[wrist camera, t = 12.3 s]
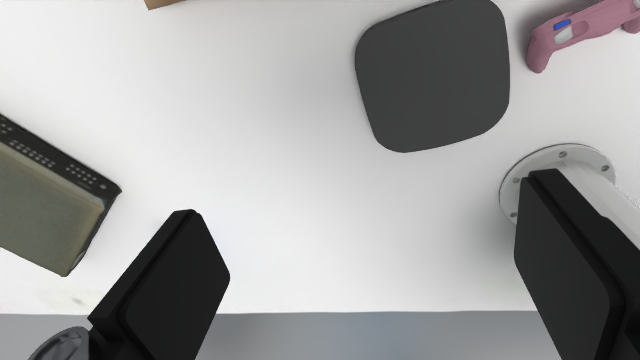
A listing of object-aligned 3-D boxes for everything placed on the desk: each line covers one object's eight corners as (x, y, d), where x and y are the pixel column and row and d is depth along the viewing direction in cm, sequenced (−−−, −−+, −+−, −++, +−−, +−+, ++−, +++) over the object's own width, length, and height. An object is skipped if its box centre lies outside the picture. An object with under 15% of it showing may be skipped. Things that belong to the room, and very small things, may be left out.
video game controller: (622, -13, 32) (673, -50, 26) (639, 32, 32) (694, 7, 26) (512, 37, 36) (532, 16, 29) (528, 78, 36) (551, 66, 29)
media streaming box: (503, 119, 39) (513, 130, 37) (379, 150, 43) (380, 162, 40) (494, -20, 32) (506, -18, 29) (345, 32, 36) (344, 37, 33)
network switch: (-45, 202, 55) (-78, 222, 51) (-49, 82, 43) (-92, 95, 39) (98, 263, 60) (79, 286, 56) (130, 171, 48) (108, 192, 44)
